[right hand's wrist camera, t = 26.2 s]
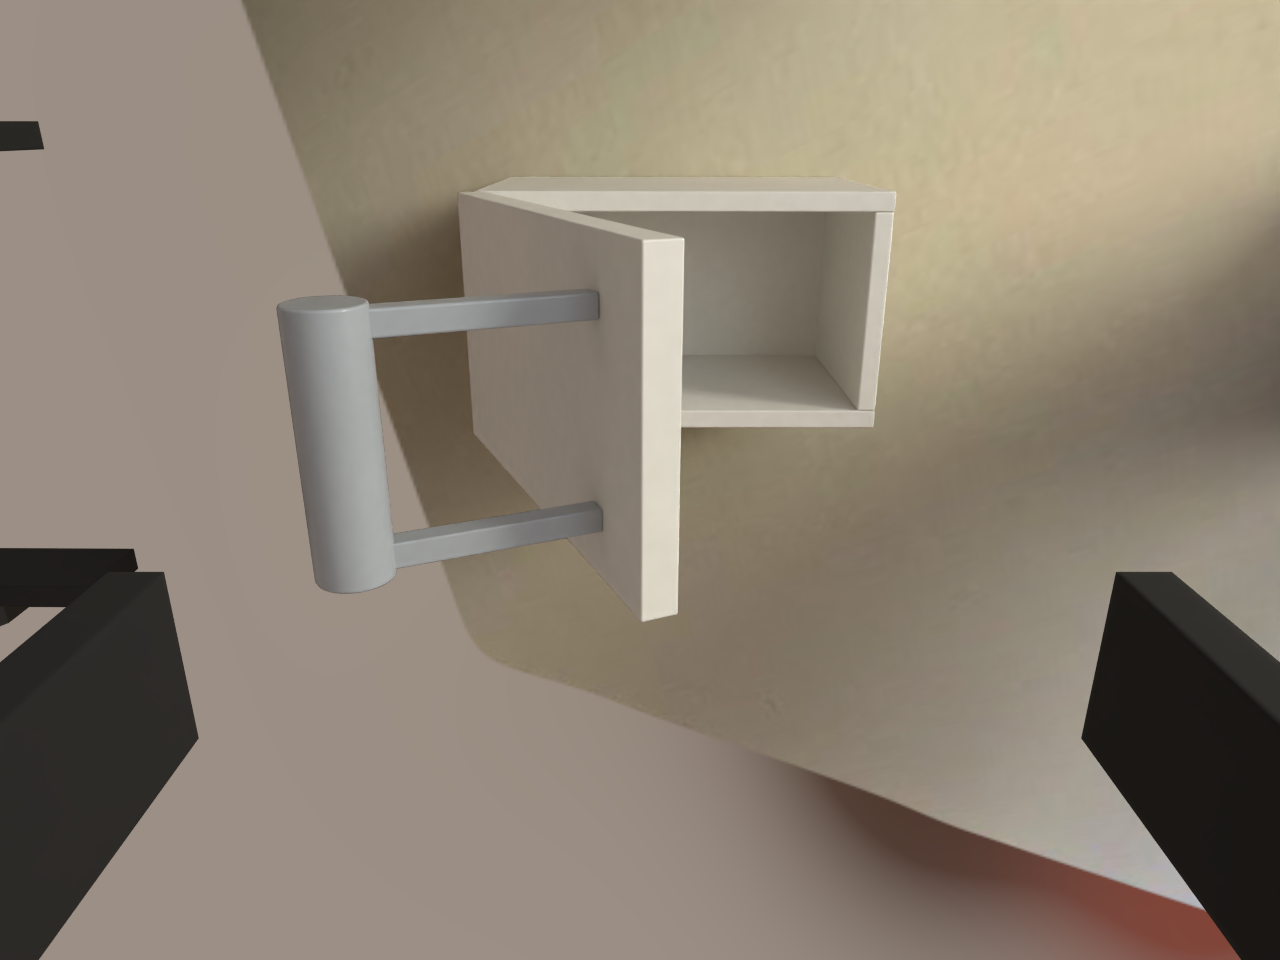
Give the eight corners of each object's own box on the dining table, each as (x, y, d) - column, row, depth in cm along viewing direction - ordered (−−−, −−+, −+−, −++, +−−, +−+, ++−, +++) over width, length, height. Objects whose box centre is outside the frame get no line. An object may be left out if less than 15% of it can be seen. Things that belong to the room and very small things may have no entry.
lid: (685, 237, 20) (276, 257, 17) (678, 615, 24) (336, 691, 20) (484, 191, 35) (242, 197, 31) (498, 430, 38) (281, 458, 35)
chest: (839, 177, 45) (896, 191, 35) (824, 366, 48) (873, 428, 38) (510, 176, 45) (473, 190, 35) (519, 365, 48) (488, 427, 38)
